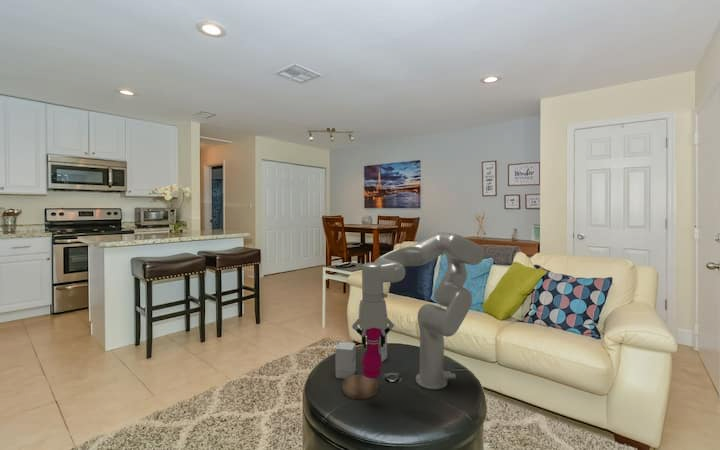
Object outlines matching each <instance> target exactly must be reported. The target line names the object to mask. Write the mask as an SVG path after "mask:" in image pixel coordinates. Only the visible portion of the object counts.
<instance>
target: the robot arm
mask: <svg viewBox="0 0 720 450" xmlns="http://www.w3.org/2000/svg"><path fill="white" fill-rule="evenodd" d="M484 254H485V252H484V249H483V248H482V246H480V245H479V244H478V243H476V242H474V241H472V240H470V239H469V238H466V237H464V236H462V235H460V234H457V233H450V232H441V231H439V232H436V233H433V234H432V235H430V236H428V237H426V238H424V239H423V240H421V241H418V242H417V243H414V244H412V245H409V246H408V245H407V246H404V247H402V248H397V249H395V250H391V251H389V252H387V253H385V254H383V255H381V256H379V257H378V258H376V259H375V260H374V262H373V261H372V262H365V263H363V265H361V266H362V267H361V289H362V291H361V292H362V293H361V296H362V298H361V299H360V301H359V307H358V318H357V319H356V321H355V322H354V323H353V324H352V325H351V328H352V329H353V330H354V331H355V332H356V333H357V334H359V336H361V345H362V346H363V349H367V342H366V337H367V336H366V334H365V333H366V330H367V329H371V328H377V329H380V330H381V332H382V334H381V336H380V337H381V347H383V344H385V336H386V334H387V335H388V333H389V332H390V331H391V330H392V329H393V328H394V327H395V324H394V323H393V322H392V320H391V319H390V318H388V311H387V304H386V300H385V298H388V293H385V292H384V284H385V283H398V282H401V281H402V280H403V279H404V278H405V276H406V268H405V267H417V266H418V267H419V266H424V265H426V264H427V263H430V262H431V261H433V260H435V259H436V258H437V259H438V257H440V256H442V255H445V257H446V260H447V268H446V272H445V273H444V276H443V277H442V278H441V280H440V282H439V284H438V285H437V287H436V289H435V290H434V293H433V300H434V301H435V303H437V304H439V305H440V306H439V305H435V304H432V303H431V304H430V303H426V304H423V305H422V306H421V307H420V308H419V310H418V311H417V324H418V329H419V330H418V331H419V373H417V374H416V376H415V382H416V384H417V385H419V386H420V387H421V388H424V389H428V390H441V389H444V388H445V387H447V386H448V380H449V379H451V380H452V379H453V380H454V379H455V380H456V379H457V377H456V375H457V374H456V373H452V372H451V370H447V371H445V369H444V366H445V363H444V362H445V360H444V359H445V358H444V356H445V339H444V338H445V337H447V338H448V337H452V336H454V335H455V334H456V333H457V332H458V330H459V329H460V327H461V325H462V324H463V322H464V320H465V318H466V316H468V315H467V314H468V313H469V311H470V309H471V307H472V304H473V296H472V293H471V291H470V290H469V289H468V288H465V287H464V285H465V282H466V281H467V276H468V275H467V274H468V273H467V268H466V265H469V266H477V265H479V264H480V263H482V262H483V259H484V256H485V255H484ZM441 306H442V307H441ZM443 307H445V308H443ZM384 329H385V330H384Z"/></svg>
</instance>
